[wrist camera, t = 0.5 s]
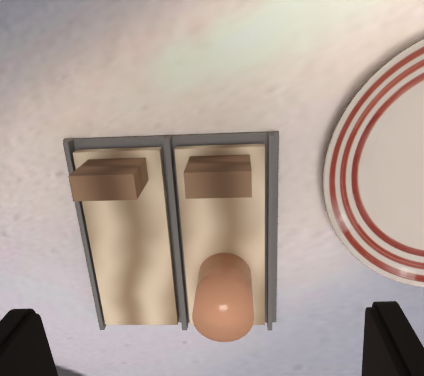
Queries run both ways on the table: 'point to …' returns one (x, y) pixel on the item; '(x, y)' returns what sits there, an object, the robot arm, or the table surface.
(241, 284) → the canister
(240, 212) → the strip
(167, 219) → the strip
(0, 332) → the robot arm
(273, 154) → the lane frame
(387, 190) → the dinner plate
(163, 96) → the table surface
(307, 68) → the table surface
